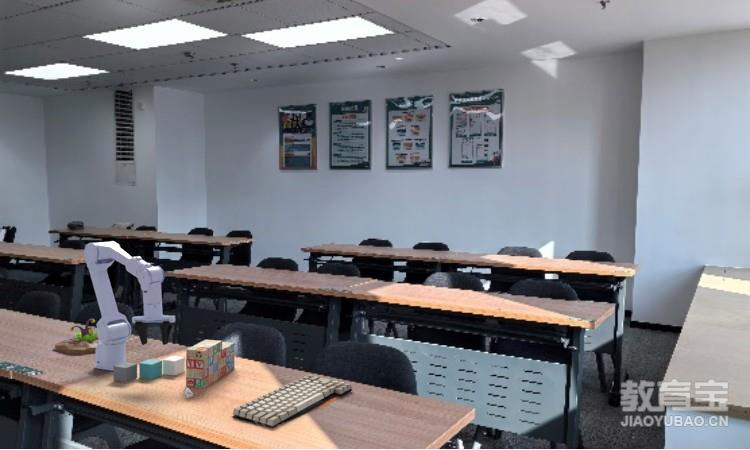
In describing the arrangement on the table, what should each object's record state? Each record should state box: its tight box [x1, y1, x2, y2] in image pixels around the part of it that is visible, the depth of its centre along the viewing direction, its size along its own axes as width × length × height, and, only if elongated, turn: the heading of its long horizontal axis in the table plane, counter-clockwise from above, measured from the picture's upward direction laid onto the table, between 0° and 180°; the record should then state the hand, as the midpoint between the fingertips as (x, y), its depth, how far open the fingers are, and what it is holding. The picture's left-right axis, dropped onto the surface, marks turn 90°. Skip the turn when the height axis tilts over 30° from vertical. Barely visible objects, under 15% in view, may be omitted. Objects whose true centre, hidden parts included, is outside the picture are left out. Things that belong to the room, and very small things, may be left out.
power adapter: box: [184, 387, 194, 399], centre depth 171 cm, size 3×3×3 cm
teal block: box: [138, 358, 163, 380], centre depth 189 cm, size 5×5×5 cm
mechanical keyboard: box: [231, 373, 353, 428], centre depth 169 cm, size 38×19×3 cm, turn 151°
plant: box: [54, 318, 100, 356], centre depth 221 cm, size 20×20×11 cm
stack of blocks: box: [185, 339, 236, 389], centre depth 189 cm, size 21×6×12 cm, turn 167°
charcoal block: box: [113, 361, 138, 384], centre depth 185 cm, size 5×5×5 cm
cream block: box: [162, 355, 186, 376], centre depth 193 cm, size 5×5×5 cm
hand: (154, 344), depth 188 cm, fingers open, 7 cm apart
